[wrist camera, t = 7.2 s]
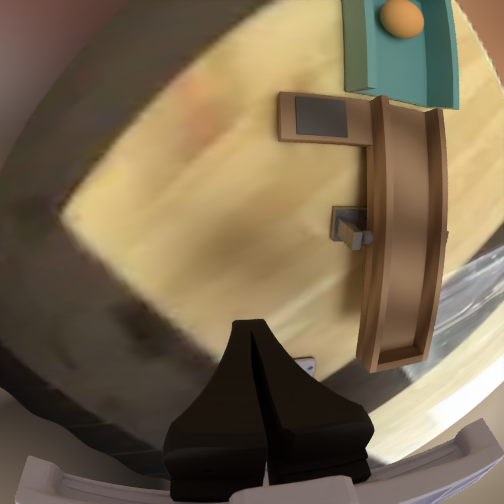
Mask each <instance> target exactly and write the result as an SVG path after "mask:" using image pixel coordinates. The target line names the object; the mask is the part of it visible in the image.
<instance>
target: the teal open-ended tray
mask: <svg viewBox="0 0 504 504" xmlns="http://www.w3.org/2000/svg"><path fill="white" fill-rule="evenodd" d="M386 1H388V0H342V5H343V22H344V46H345V91H346V92H353V93H359V94H366V95H371V96H377V97H378V96H380V95H385V96H388V99H392V100H397V101H402V102H406V103H411V104H415V105H419V106H423V107H427V108H434V109H436V108H439V109H454V110H459V70H458V54H457V43H456V33H455V25H454V18H453V12H452V6H451V0H408V1H410V2H412V3H413V4H414V5H416V6H417V7H418V8H419V10H420V11H421V13H422V15H423V18H424V27H423V30H422V32H421V33H420V34H419V35H418V36H416V37H414V38H410V39H403V38H399V37H396V36H394V35H392V34H391V33H390V32H388V31H387V30H386V29H385V27H384V26H383V24H382V22H381V20H380V9H381V7H382V5H383V4H384V3H385V2H386Z"/></svg>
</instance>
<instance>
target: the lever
mask: <svg viewBox="0 0 504 504" xmlns="http://www.w3.org/2000/svg"><path fill="white" fill-rule="evenodd" d="M277 109H278V142H303V143H322V144H337V145H349V146H360V147H366V155H367V231H362V232H363V235H362V242H361V244H362V245H366V259H365V275H364V288H363V299H362V309H361V319H360V327H359V335H358V343H357V350H356V357H357V358H358V359H359V361H360V362H361V363H362V364H363V366H364V367H365V368H366V369H367V371H368V372H369V373H373V372H378V371H383V370H388V369H392V368H397V367H401V366H405V365H409V364H413V363H417V362H421V361H425V360H427V357H428V353H429V349H430V344H431V340H432V335H433V331H434V326H435V321H436V315H437V310H438V304H439V298H440V291H441V284H442V276H443V268H444V258H445V247H446V233H447V211H448V173H447V151H446V137H445V126H444V117H443V109H439V108H436V109H433V110H430V111H427V112H420V111H416V110H412V109H407V108H403V107H398V106H393V105H389V100H388V96H385V95H380V96H378V97H376V98H375V99H373V100H371V101H365V100H358V99H351V98H344V97H336V96H327V95H317V94H306V93H292V92H280V93H279V94H278V96H277Z"/></svg>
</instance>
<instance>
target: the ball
mask: <svg viewBox="0 0 504 504" xmlns="http://www.w3.org/2000/svg"><path fill="white" fill-rule="evenodd" d="M380 20H381V22H382V24H383V26H384V27H385V29H386V30H387V31H388V32H390V33H391V34H392V35H394V36H396V37H399V38H403V39H410V38H414V37H416V36H418V35H419V34H420V33H421V32H422V30H423V27H424V18H423V15H422V13H421V11H420V10H419V8H418V7H417V6H416V5H414V4H413V3H412V2H410V1H408V0H388V1H386V2H385V3H384V4H383V5H382V7H381V9H380Z"/></svg>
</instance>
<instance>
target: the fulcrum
mask: <svg viewBox="0 0 504 504" xmlns="http://www.w3.org/2000/svg"><path fill="white" fill-rule="evenodd" d="M362 231H367V207H333V218H332V229H331V240H332V241H343V242H344V243H345V244H346V245H347V246H348V247H349V248H350V249H351V250H360V248H361V242H362V235H363V232H362ZM448 233H449V232H448V231H447V233H446V242H447V238H448Z"/></svg>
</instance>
